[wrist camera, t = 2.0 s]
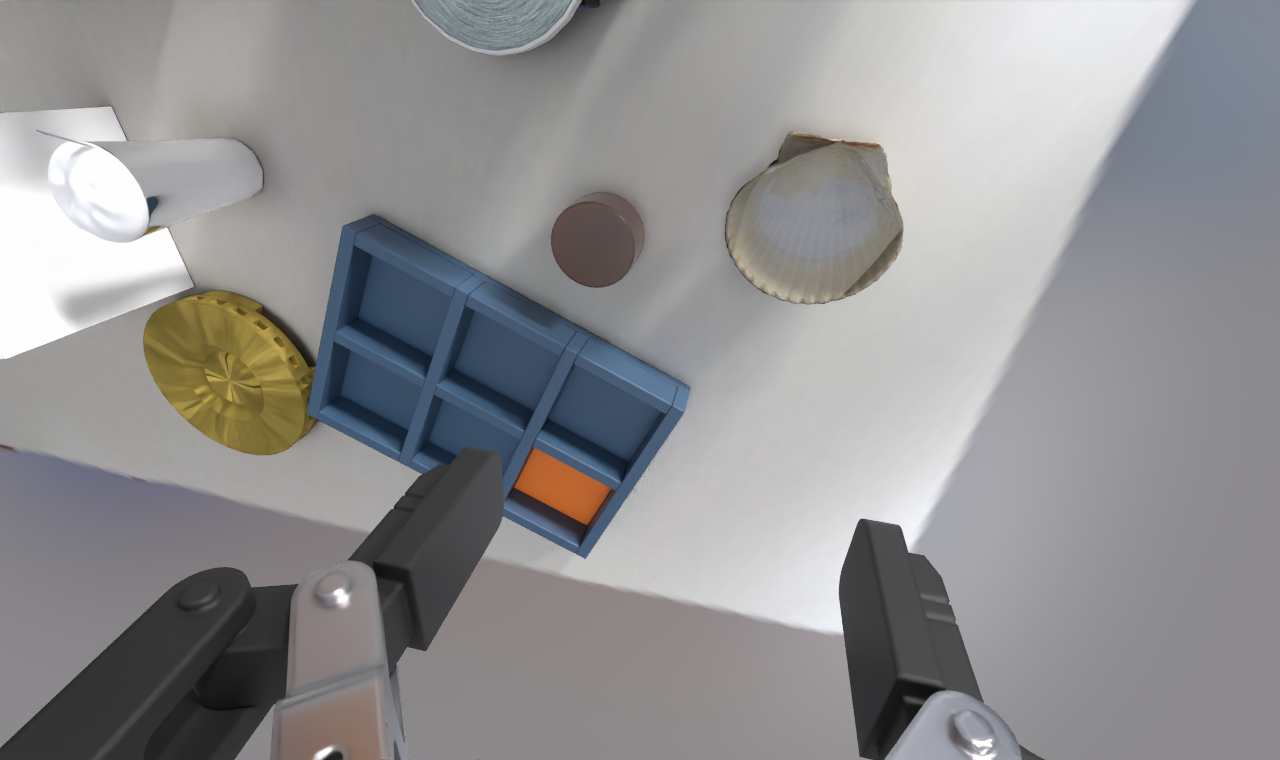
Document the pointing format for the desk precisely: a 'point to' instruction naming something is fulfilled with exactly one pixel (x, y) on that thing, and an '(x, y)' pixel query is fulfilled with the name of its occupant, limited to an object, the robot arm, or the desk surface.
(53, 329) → the white open box
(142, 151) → the milkshake
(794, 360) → the desk surface
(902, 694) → the robot arm
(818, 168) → the seashell
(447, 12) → the scroll saw
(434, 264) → the grid
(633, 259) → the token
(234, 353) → the gold notched disc
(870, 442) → the desk surface
